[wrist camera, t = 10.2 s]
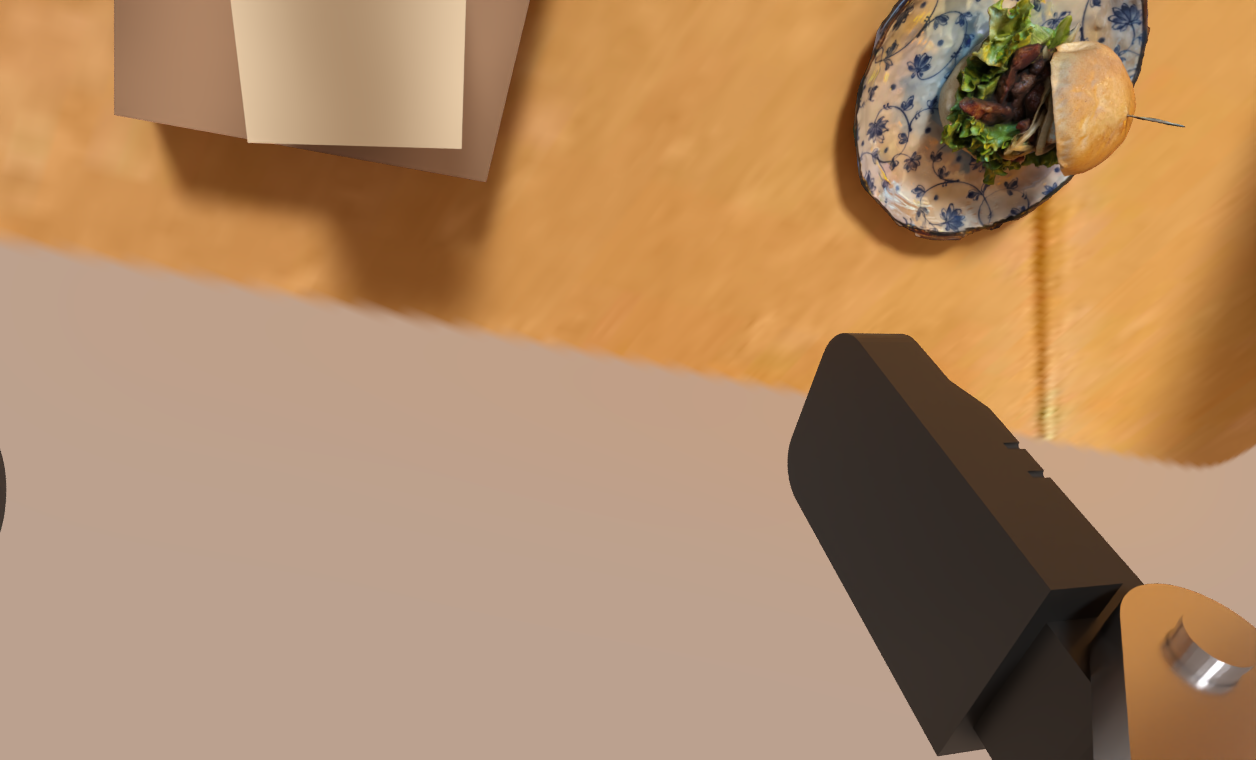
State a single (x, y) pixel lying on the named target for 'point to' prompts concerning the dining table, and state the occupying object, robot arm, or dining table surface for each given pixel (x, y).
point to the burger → (993, 105)
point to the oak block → (352, 71)
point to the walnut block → (211, 89)
